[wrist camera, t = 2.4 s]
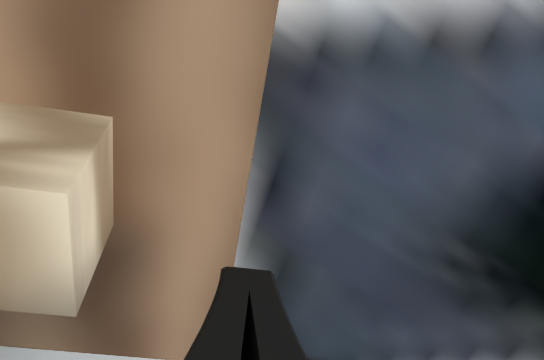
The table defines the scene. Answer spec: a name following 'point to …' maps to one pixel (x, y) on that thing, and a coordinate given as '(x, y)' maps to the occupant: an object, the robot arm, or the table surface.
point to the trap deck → (147, 153)
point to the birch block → (52, 206)
